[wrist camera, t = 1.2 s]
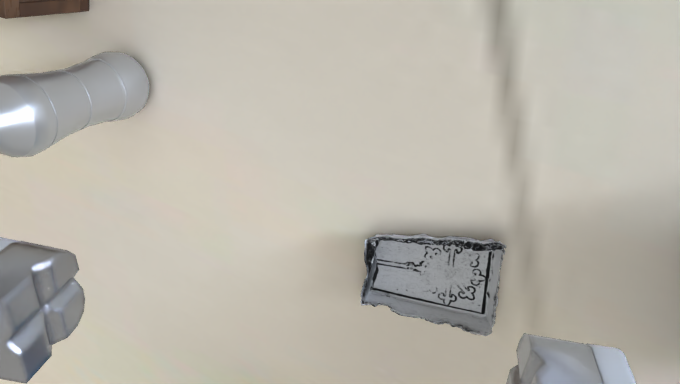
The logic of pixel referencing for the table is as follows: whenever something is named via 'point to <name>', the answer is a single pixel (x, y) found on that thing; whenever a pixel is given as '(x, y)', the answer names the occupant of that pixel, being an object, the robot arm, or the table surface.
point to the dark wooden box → (40, 7)
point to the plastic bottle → (68, 101)
